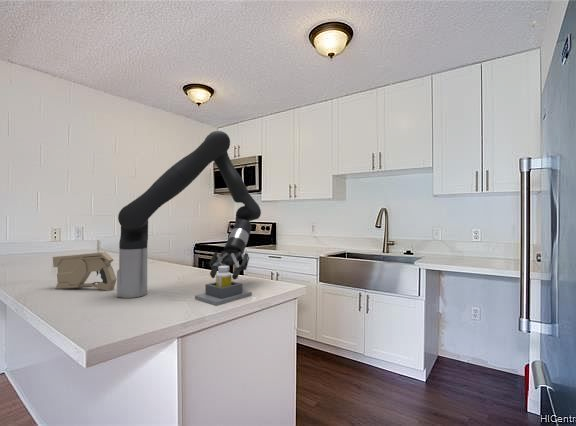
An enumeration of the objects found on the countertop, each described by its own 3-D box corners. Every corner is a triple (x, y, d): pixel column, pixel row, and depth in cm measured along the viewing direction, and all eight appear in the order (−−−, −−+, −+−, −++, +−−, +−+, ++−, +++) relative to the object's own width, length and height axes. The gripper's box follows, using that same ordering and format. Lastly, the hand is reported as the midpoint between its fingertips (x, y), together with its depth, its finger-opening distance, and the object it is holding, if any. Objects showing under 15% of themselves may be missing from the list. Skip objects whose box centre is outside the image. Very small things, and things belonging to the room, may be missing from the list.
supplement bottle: (234, 292, 110) (234, 265, 110) (226, 296, 105) (226, 268, 105) (221, 291, 112) (221, 264, 112) (213, 294, 107) (213, 267, 107)
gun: (118, 288, 119) (114, 251, 119) (112, 291, 116) (109, 252, 116) (61, 292, 122) (58, 255, 122) (54, 294, 118) (51, 256, 118)
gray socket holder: (216, 305, 98) (216, 291, 98) (194, 299, 106) (194, 285, 106) (251, 295, 111) (251, 282, 111) (230, 290, 118) (230, 278, 118)
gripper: (217, 235, 118) (201, 270, 107) (251, 236, 114) (237, 272, 103) (223, 247, 123) (208, 282, 112) (256, 249, 119) (244, 284, 108)
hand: (222, 277), depth 107 cm, fingers open, 8 cm apart
